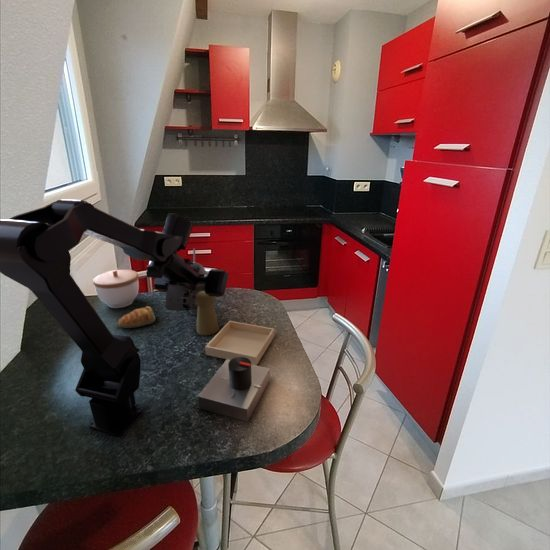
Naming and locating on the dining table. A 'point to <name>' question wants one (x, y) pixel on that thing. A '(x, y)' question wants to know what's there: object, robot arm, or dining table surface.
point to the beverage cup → (199, 286)
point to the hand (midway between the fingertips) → (206, 293)
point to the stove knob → (240, 373)
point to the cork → (206, 314)
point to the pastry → (137, 318)
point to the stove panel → (233, 393)
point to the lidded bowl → (117, 287)
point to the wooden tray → (240, 342)
